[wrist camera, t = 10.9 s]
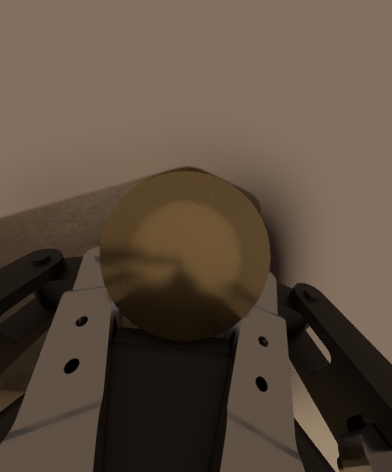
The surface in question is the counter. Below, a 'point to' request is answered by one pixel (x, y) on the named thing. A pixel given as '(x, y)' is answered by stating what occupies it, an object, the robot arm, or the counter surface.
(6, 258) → the counter surface
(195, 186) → the disc
